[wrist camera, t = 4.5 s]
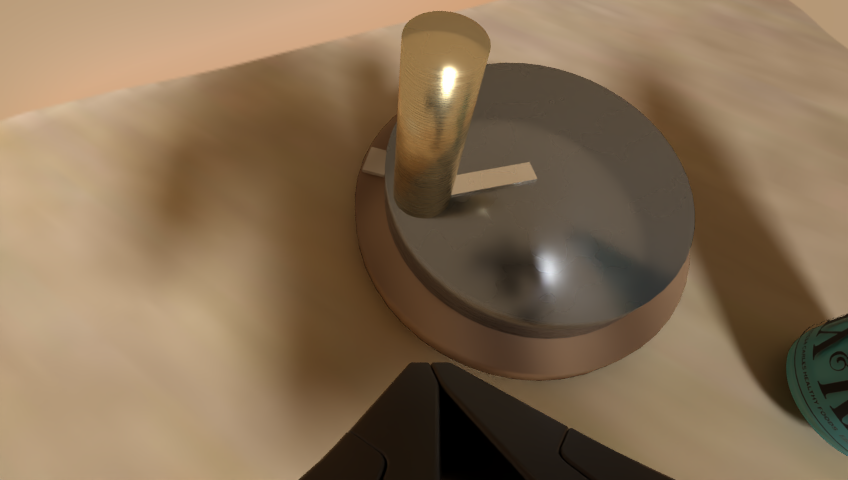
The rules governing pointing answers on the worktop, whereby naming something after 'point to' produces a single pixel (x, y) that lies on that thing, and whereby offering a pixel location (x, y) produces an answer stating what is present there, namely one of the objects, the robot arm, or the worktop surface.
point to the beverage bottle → (822, 380)
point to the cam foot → (528, 188)
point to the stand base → (472, 338)
